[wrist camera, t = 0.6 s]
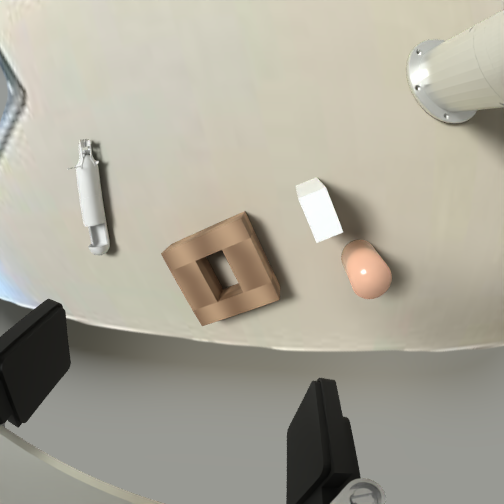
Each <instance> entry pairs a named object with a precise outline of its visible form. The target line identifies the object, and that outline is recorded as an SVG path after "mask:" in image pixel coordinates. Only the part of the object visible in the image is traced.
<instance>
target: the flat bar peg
mask: <svg viewBox="0 0 504 504" xmlns="http://www.w3.org/2000/svg"><path fill="white" fill-rule="evenodd" d="M296 191H297V195H298V199H299V202H300V204H301V206H302V209H303V211H304V213H305V216H306V218H307V221H308V223H309V225H310V228H311V230H312V233H313V235H314V238H315V240H316V243H318V242H320V241H323V240H325V239H328V238H330V237H333V236H335V235H338V234H340V233H343V230H342V227H341V225H340V222H339V219H338V217H337V214H336V212H335V209H334V207H333V204H332V201H331V199H330V196H329V194H328V191H327V189H326V187H325V186H324V185H323V184H322V183H321V182H320V180H319V179H318V178H317V177H316V178H313V179H311V180H308V181H306V182H303V183H301V184H299V185H296Z"/></svg>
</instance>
